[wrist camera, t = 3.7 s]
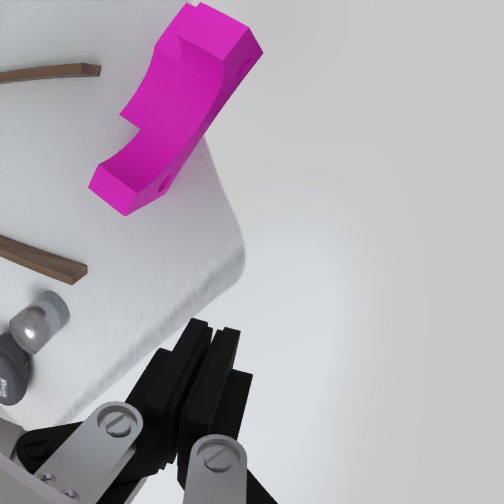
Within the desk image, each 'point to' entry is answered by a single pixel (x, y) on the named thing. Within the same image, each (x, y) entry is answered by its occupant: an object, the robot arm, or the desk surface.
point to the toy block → (176, 104)
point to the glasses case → (12, 371)
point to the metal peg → (39, 322)
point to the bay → (19, 251)
